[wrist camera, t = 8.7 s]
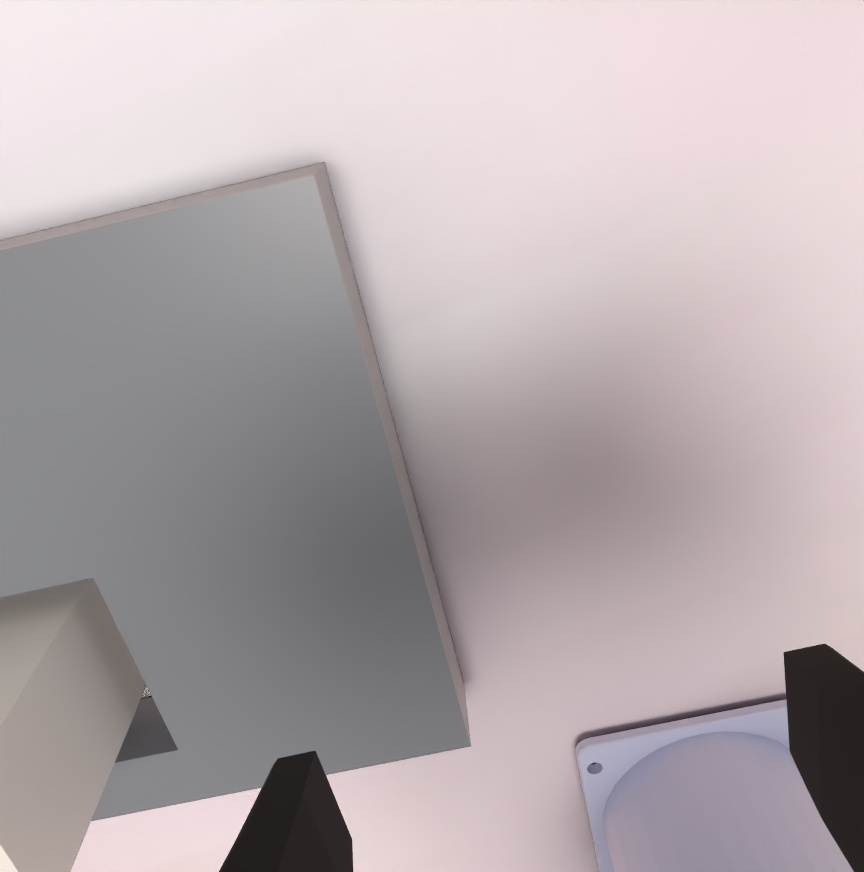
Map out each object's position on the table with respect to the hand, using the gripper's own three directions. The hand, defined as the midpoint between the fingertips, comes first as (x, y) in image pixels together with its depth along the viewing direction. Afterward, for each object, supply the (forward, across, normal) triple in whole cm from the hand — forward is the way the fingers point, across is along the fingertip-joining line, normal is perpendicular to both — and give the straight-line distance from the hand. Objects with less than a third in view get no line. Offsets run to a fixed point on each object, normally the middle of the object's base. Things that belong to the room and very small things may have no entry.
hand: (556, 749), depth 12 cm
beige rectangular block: (+10, +13, +2) cm, 17 cm away
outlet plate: (+10, +10, 0) cm, 15 cm away
